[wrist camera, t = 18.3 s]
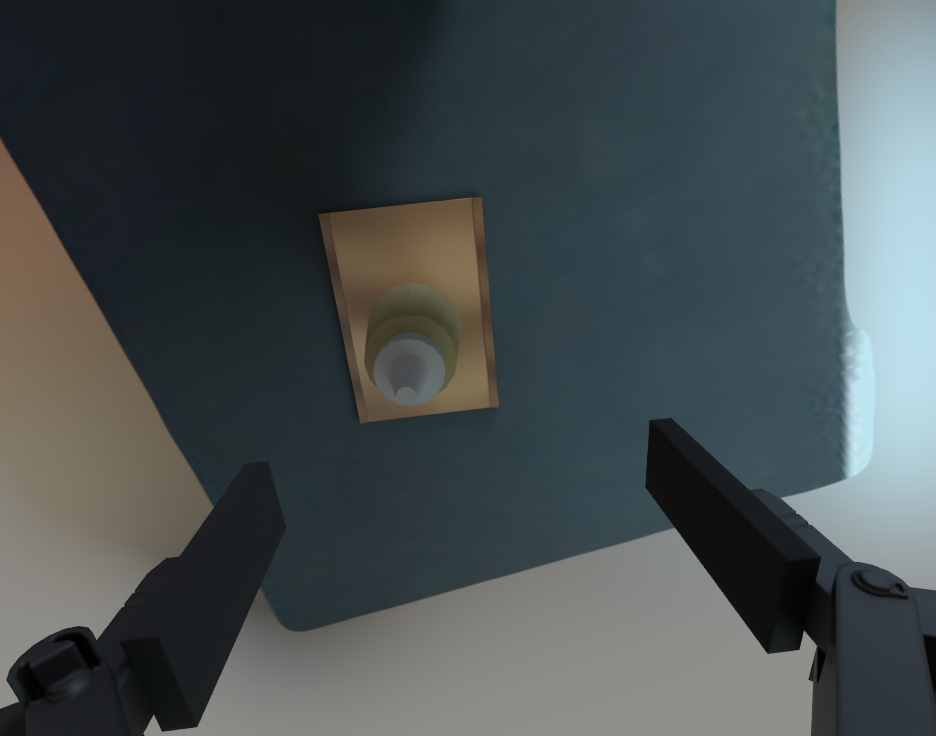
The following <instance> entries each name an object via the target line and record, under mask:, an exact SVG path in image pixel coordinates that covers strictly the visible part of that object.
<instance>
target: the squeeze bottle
mask: <svg viewBox="0 0 936 736" xmlns="http://www.w3.org/2000/svg"><path fill="white" fill-rule="evenodd" d="M461 329H462V325H461V321H460V317H459V314H458V310H457V308H456V307H455V305H454V304H453V303H452V302H451V300H450V299H449V298H448V296H447V295H446V294H444V293H443V292H441V291H439V290H438V289H436V288H434V287H432V286H431V285H426V284H419V283H411V282H410V283H406V284H403V285H399V286H395V287H392V288H391V289H389V290H388V291H387V292H385V293H384V294H383V295H382V296H380V297H379V298H378V299H377V301H376V302H375V304H374V306H373V308H372V310H371V312H370V314H369V318H368V327H367V335H366V344H365V355H364V365H365V368H366V371H367V374H368V376H369V379H370V381H371V382H372V383H373V384H374V385H375V386H376V387H377V388H378V390H379V391H380V392H381V393H382V394H383V395H384V396H385V397H386V398H387V399H389V400H391V401H393V402H395V403H397V404H400V405H410V406H414V405H418V404H421V403H425V402H427V401H428V400H430V399H431V398H433V397H434V396H436V395H437V394H439V393H440V392H441V391H443V390H444V389H445V388H446V387H447V386H448V384H449V383H450V381H451V379H452V378H453V376H454V374H455V371H456V364H457V357H458V350H459V343H460V336H461Z"/></svg>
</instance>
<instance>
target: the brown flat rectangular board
mask: <svg viewBox="0 0 936 736" xmlns="http://www.w3.org/2000/svg"><path fill="white" fill-rule="evenodd" d="M318 215H319V220H320V225H321V230H322V235H323V240H324V245H325V250H326V255H327V260H328V265H329V270H330V275H331V280H332V285H333V290H334V295H335V300H336V305H337V310H338V315H339V320H340V325H341V330H342V335H343V340H344V345H345V350H346V355H347V360H348V365H349V370H350V375H351V380H352V385H353V390H354V395H355V400H356V405H357V410H358V415H359V420H360V424H361V423H368V422H373V421H381V420H389V419H397V418H406V417H414V416H422V415H430V414H439V413H447V412H455V411H463V410H472V409H480V408H488V407H491V408H493V407H499V402H498V390H497V378H496V366H495V354H494V342H493V330H492V318H491V306H490V293H489V281H488V269H487V257H486V245H485V233H484V221H483V209H482V197H475V198H465V199H456V200H446V201H437V202H427V203H418V204H408V205H399V206H389V207H379V208H370V209H360V210H351V211H341V212H332V213H322V214H318ZM410 282H411V283H419V284H426V285H431V286H432V287H434V288H436V289H438V290H439V291H441V292H443V293H444V294H446V295H447V296H448V298H449V299H450V300H451V302H452V303H453V304H454V305H455V307H456V308H457V310H458V314H459V317H460V321H461V325H462V329H461V336H460V343H459V350H458V357H457V364H456V371H455V374H454V376H453V378H452V379H451V381H450V383H449V384H448V386H447V387H446V388H445V389H444V390H443V391H441V392H440V393H439V394H437V395H436V396H434V397H433V398H431V399H430V400H428V401H427V402H425V403H421V404H418V405H414V406H410V405H400V404H397V403H395V402H393V401H391V400H389V399H387V398H386V397H385V396H384V395H383V394H382V393H381V392H380V391H379V390H378V388H377V387H376V386H375V385H374V384H373V383H372V382H371V381H370V379H369V376H368V374H367V371H366V368H365V365H364V355H365V344H366V335H367V327H368V318H369V314H370V312H371V310H372V308H373V306H374V304H375V302H376V301H377V299H378V298H379V297H380V296H382V295H383V294H384V293H385V292H387V291H388V290H389V289H391V288H392V287H395V286H399V285H403V284H406V283H410Z"/></svg>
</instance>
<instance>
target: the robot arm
mask: <svg viewBox="0 0 936 736" xmlns="http://www.w3.org/2000/svg"><path fill="white" fill-rule="evenodd" d="M645 487H646V489H647V490H648V491H649V493H650V494H651V495H652V497H653V498H654V500H655V501H656V502H657V504H658V505H659V506H660V508H661V509H662V510H663V512H664V513H665V515H666V516H667V517H668V519H669V520H670V521H671V523H672V524H673V525H674V527H675V528H676V530H677V531H678V532H679V534H680V535H681V536H682V538H683V539H684V540H685V542H686V543H687V545H688V546H689V547H690V549H691V550H692V551H693V553H694V554H695V555H696V557H697V558H698V559H699V561H700V562H701V564H702V565H703V566H704V568H705V569H706V570H707V572H708V573H709V574H710V576H711V577H712V578H713V580H714V581H715V583H716V584H717V585H718V587H719V588H720V589H721V591H722V592H723V593H724V595H725V596H726V598H727V599H728V600H729V602H730V603H731V604H732V606H733V607H734V608H735V610H736V611H737V613H738V614H739V615H740V617H741V618H742V620H743V621H744V622H745V624H746V625H747V626H748V628H749V629H750V630H751V632H752V633H753V635H754V636H755V637H756V639H757V640H758V641H759V643H760V644H761V645H762V647H763V648H764V650H765V651H766V652H767V654H770V653H779V652H786V651H794V650H799V649H800V645H801V641H802V637H803V632H804V631H805V632H806V633H807V634H808V635H809V636H810V638H811V639H812V640H813V641H814V642H815V644H816V645H817V648H816V652H815V656H814V660H813V664H812V668H811V672H810V676H809V680H811V681H813V702H812V725H811V736H936V591H935V590H927V589H920V588H912V587H909V586H908V585H907V584H906V583H905V582H904V581H903V580H902V579H900V578H899V577H897V576H895V575H894V574H892V573H890V572H889V571H887V570H884V569H881V568H879V567H876V566H874V565H870V564H865V563H860V562H854V561H852V560H851V559H850V558H849V557H848V556H846V555H845V554H844V553H843V552H842V551H841V550H840V549H838V548H837V547H836V546H835V545H834V544H833V543H832V542H830V541H829V540H828V539H827V538H826V537H825V536H823V535H822V534H821V533H820V532H819V531H818V530H816V529H815V528H814V527H813V526H812V525H809V524H808V522H807V521H806V520H805V519H804V518H803V517H802V516H800V515H799V514H796V511H795V510H793V509H792V508H791V507H790V506H789V505H788V504H786V503H785V502H784V501H783V500H782V499H780V498H778V497H776V496H774V495H773V494H771V493H769V492H767V491H765V490H763V489H757V490H748V489H747V488H746V487H745V486H744V485H743V484H742V483H741V482H740V481H739V480H738V479H737V478H735V477H734V476H733V475H732V474H731V473H730V472H729V471H728V470H727V469H726V468H725V467H724V466H723V465H721V464H720V463H719V462H718V461H717V460H716V459H715V458H714V457H713V456H712V455H711V454H710V453H708V452H707V451H706V450H705V449H704V448H703V447H702V446H701V445H700V444H699V443H698V442H697V441H695V440H694V439H693V438H692V437H691V436H690V435H689V434H688V433H687V432H686V431H685V430H684V429H683V428H681V427H680V426H679V425H678V424H677V423H676V422H675V421H674V420H673V419H672V418H667V419H658V420H650V423H649V439H648V454H647V470H646V485H645ZM285 529H286V526H285V522H284V518H283V515H282V511H281V507H280V504H279V500H278V496H277V493H276V489H275V485H274V482H273V478H272V474H271V470H270V467H269V463H268V461H266V462H257V463H248V464H244V466H243V467H242V469H241V470H240V472H239V473H238V474H237V476H236V477H235V479H234V480H233V481H232V483H231V484H230V486H229V487H228V489H227V490H226V491H225V493H224V494H223V496H222V497H221V498H220V500H219V501H218V503H217V504H216V506H215V507H214V508H213V510H212V511H211V513H210V514H209V516H208V517H207V518H206V520H205V521H204V523H203V524H202V525H201V527H200V528H199V530H198V531H197V532H196V534H195V535H194V537H193V538H192V540H191V541H190V542H189V544H188V545H187V547H186V548H185V549H184V551H183V552H182V554H181V555H180V556H179V557H173V558H166V559H165V560H164V561H162V562H161V563H160V564H159V565H157V566H156V567H155V568H154V569H152V570H151V571H150V572H149V573H148V574H147V575H146V576H145V578H144V579H143V580H142V581H141V583H140V584H139V585H138V587H137V588H136V590H135V593H133V594H132V595H131V596H130V597H129V599H128V600H127V601H126V603H125V606H124V607H122V608H121V609H120V610H119V612H118V613H117V614H116V616H115V617H114V618H113V620H112V621H111V622H110V624H109V625H108V626H107V628H106V629H105V630H104V631H103V633H102V634H101V635H100V637H99V638H98V640H96V638H95V637H94V635H93V633H92V631H91V630H90V629H89V628H88V627H81V626H77V627H72V628H67V629H63V630H61V631H59V632H57V633H54V634H52V635H49V636H48V637H46V638H45V639H43V640H41V641H40V642H38V643H37V644H35V645H33V646H32V647H31V648H30V649H28V650H27V651H26V652H25V653H24V654H23V655H21V656H20V657H19V658H18V660H17V661H16V662H15V663H14V665H13V666H12V667H11V669H10V670H9V674H8V677H7V682H8V683H9V685H10V687H11V688H12V690H13V691H14V693H15V695H16V696H17V698H18V700H19V701H20V702H17V703H15V704H12V705H9V706H7V707H4V708H1V709H0V736H144V734H143V733H144V731H145V729H146V728H147V726H148V724H149V722H150V720H151V718H152V717H153V715H154V716H155V718H156V720H157V722H158V724H159V726H160V728H161V730H162V732H163V731H171V730H179V729H187V728H194V727H197V726H198V724H199V722H200V720H201V717H202V715H203V712H204V711H205V708H206V706H207V704H208V702H209V699H210V697H211V695H212V693H213V691H214V688H215V686H216V684H217V681H218V679H219V677H220V675H221V673H222V670H223V668H224V666H225V663H226V661H227V659H228V657H229V655H230V652H231V650H232V648H233V646H234V643H235V641H236V639H237V636H238V634H239V632H240V630H241V628H242V625H243V623H244V621H245V619H246V616H247V614H248V612H249V610H250V607H251V605H252V603H253V601H254V598H255V596H256V594H257V592H258V590H259V587H260V585H261V583H262V581H263V578H264V576H265V574H266V572H267V569H268V567H269V565H270V563H271V560H272V558H273V556H274V554H275V551H276V549H277V547H278V545H279V542H280V540H281V538H282V536H283V533H284V531H285Z"/></svg>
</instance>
